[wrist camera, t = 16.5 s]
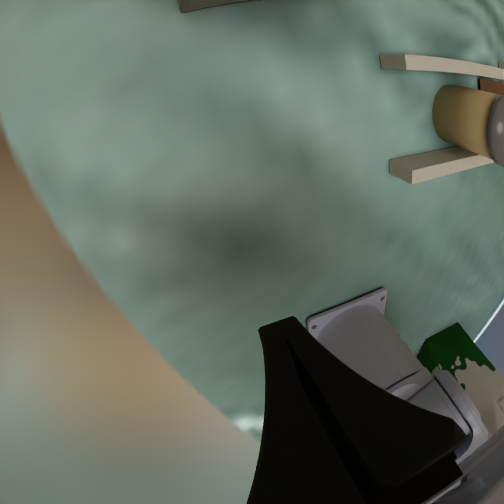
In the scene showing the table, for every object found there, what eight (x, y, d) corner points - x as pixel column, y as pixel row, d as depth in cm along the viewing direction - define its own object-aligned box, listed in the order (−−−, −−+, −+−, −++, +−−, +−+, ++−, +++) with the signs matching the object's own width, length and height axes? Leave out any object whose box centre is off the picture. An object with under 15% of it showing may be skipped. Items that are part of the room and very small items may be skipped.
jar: (470, 135, 20) (522, 156, 15) (436, 150, 19) (493, 175, 14) (463, 79, 17) (520, 92, 12) (426, 88, 17) (490, 101, 12)
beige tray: (503, 153, 22) (545, 174, 17) (389, 181, 20) (447, 216, 15) (502, 63, 16) (549, 74, 11) (377, 44, 14) (446, 43, 9)
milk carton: (444, 353, 40) (507, 438, 23) (404, 374, 38) (469, 473, 22) (463, 315, 35) (541, 407, 18) (422, 337, 33) (505, 448, 17)
